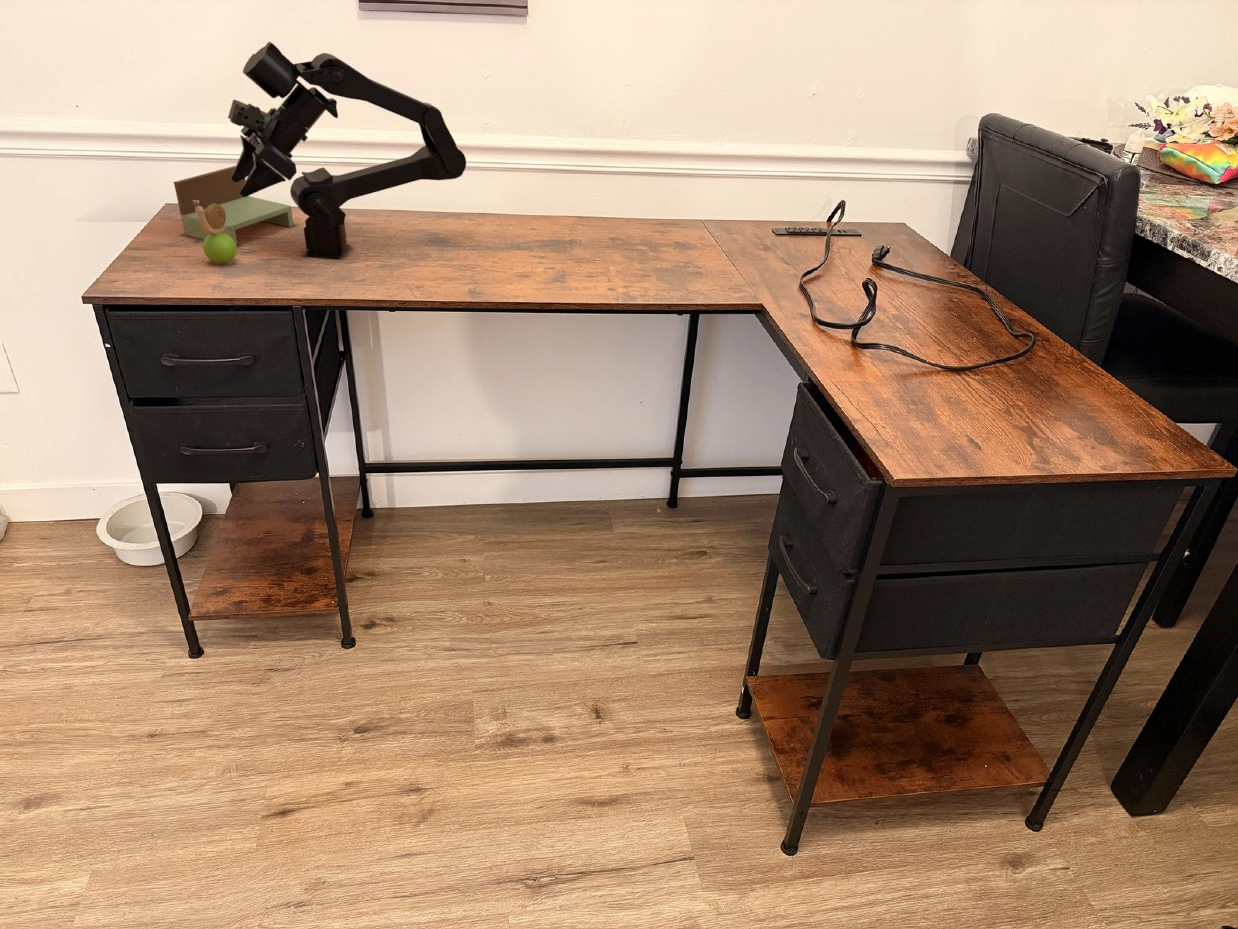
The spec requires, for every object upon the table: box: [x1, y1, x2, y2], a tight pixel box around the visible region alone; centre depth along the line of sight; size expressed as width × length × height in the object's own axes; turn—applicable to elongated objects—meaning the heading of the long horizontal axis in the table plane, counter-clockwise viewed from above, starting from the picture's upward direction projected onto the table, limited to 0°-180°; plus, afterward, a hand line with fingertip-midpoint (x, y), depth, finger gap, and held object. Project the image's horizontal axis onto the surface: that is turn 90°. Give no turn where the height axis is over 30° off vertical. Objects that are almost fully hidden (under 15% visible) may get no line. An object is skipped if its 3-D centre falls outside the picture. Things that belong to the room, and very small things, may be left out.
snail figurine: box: [193, 200, 238, 265], centre depth 149 cm, size 5×6×12 cm
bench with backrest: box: [173, 165, 295, 247], centre depth 164 cm, size 12×16×10 cm
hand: (237, 187), depth 147 cm, fingers open, 9 cm apart
